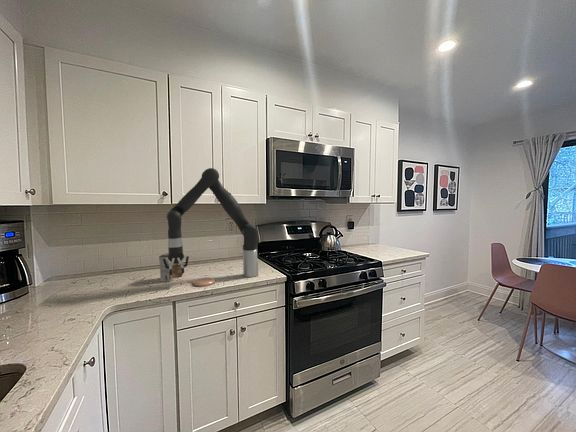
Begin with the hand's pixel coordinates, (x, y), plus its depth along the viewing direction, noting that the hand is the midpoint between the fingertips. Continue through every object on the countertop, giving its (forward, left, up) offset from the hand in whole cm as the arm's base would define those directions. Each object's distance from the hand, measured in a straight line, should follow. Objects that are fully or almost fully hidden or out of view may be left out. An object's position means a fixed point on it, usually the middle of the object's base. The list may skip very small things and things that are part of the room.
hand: (177, 274), depth 147 cm
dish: (-15, 0, -7) cm, 16 cm away
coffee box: (+5, -15, -7) cm, 18 cm away
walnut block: (0, 0, -1) cm, 1 cm away
